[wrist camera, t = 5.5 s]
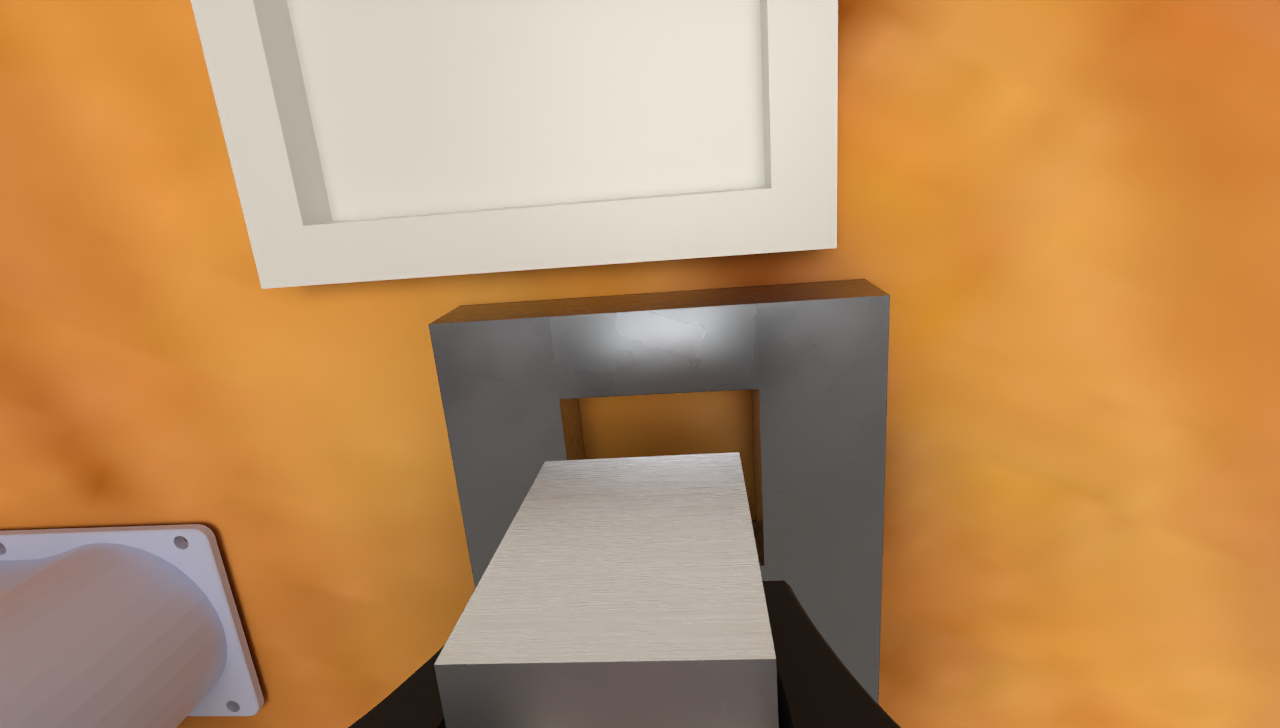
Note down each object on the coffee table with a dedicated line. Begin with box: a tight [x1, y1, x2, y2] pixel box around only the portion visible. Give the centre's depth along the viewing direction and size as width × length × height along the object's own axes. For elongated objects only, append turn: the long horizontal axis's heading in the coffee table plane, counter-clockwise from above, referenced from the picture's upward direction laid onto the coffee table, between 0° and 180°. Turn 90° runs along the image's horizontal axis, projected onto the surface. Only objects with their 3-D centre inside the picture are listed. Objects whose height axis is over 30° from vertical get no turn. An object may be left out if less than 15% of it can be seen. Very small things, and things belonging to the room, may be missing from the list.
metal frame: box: [429, 279, 890, 704], centre depth 21 cm, size 12×20×2 cm, turn 4°
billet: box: [434, 452, 779, 728], centre depth 11 cm, size 4×4×6 cm
